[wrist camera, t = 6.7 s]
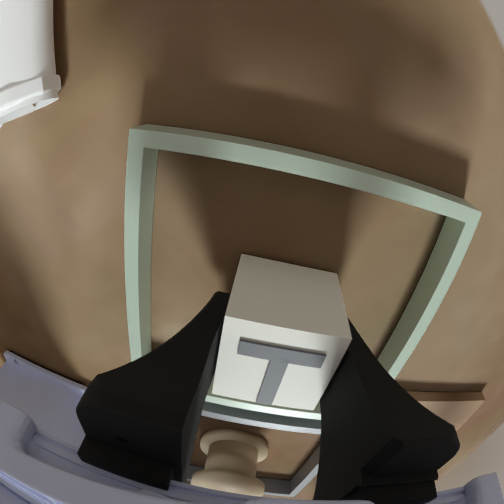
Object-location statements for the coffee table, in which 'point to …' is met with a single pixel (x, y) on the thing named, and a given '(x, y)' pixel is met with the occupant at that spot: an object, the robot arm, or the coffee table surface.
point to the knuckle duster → (26, 57)
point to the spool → (231, 462)
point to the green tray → (305, 164)
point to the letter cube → (281, 334)
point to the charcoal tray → (273, 422)
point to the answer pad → (450, 404)
